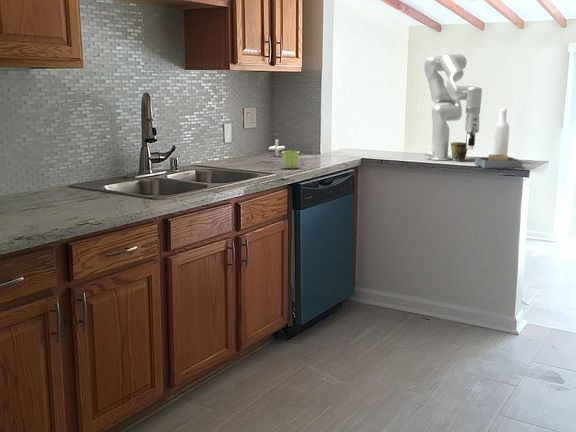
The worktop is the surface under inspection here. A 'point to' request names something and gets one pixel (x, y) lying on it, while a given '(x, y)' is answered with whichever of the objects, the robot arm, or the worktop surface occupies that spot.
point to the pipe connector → (276, 147)
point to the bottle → (501, 135)
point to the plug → (467, 142)
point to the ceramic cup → (458, 151)
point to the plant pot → (290, 158)
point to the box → (498, 162)
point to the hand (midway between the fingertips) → (470, 144)
